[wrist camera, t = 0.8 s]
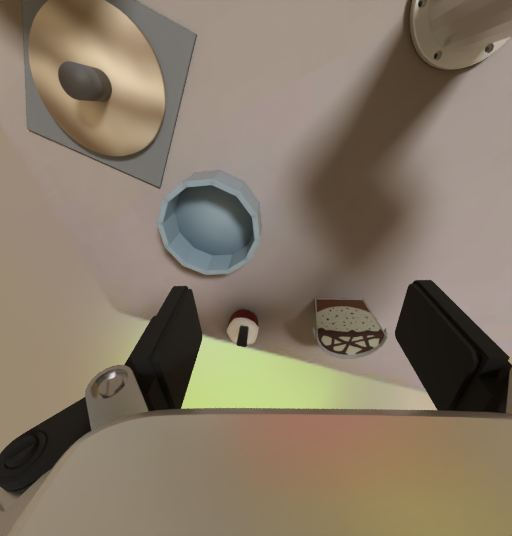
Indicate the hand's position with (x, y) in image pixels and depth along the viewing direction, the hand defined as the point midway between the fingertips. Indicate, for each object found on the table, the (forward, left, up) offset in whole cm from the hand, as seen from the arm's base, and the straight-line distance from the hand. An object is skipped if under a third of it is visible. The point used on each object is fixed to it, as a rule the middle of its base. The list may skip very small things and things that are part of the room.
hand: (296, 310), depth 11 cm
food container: (+19, +23, -32) cm, 44 cm away
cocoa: (+29, +7, -32) cm, 44 cm away
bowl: (+11, -6, -32) cm, 34 cm away
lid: (0, -26, -31) cm, 41 cm away
